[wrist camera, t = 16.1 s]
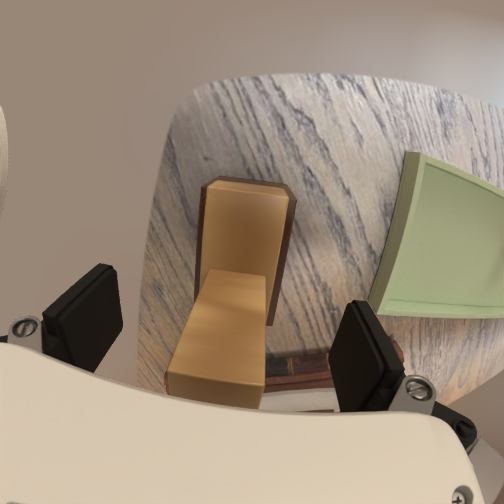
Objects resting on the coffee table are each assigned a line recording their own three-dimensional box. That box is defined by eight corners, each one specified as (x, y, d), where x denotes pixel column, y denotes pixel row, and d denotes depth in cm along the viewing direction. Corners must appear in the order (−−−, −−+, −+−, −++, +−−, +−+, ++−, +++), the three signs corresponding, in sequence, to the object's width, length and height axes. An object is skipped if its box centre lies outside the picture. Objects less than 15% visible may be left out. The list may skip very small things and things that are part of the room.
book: (390, 332, 25) (409, 361, 20) (372, 421, 29) (381, 448, 24) (173, 354, 27) (158, 385, 22) (206, 437, 31) (200, 464, 26)
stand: (210, 274, 22) (193, 315, 17) (219, 175, 19) (201, 186, 14) (270, 282, 22) (272, 326, 17) (287, 184, 19) (297, 199, 14)
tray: (367, 300, 22) (376, 315, 20) (405, 151, 18) (420, 152, 15) (517, 309, 23) (526, 317, 20) (547, 220, 18) (558, 226, 16)
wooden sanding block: (208, 325, 17) (170, 457, 8) (220, 177, 13) (140, 230, 5) (257, 332, 17) (250, 471, 8) (283, 185, 13) (319, 256, 5)
